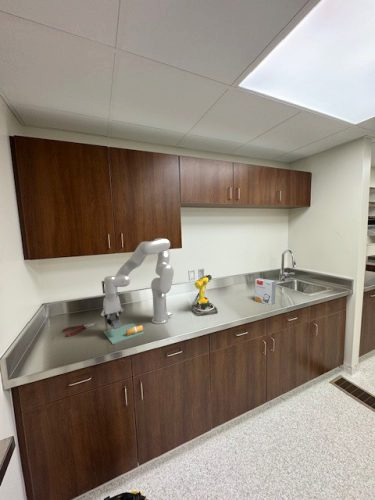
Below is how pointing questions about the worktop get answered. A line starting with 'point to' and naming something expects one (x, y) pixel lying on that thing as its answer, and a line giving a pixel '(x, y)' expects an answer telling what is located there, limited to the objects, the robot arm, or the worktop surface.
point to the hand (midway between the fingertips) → (113, 322)
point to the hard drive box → (265, 291)
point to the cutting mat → (124, 333)
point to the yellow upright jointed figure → (203, 298)
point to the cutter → (114, 322)
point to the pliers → (79, 328)
